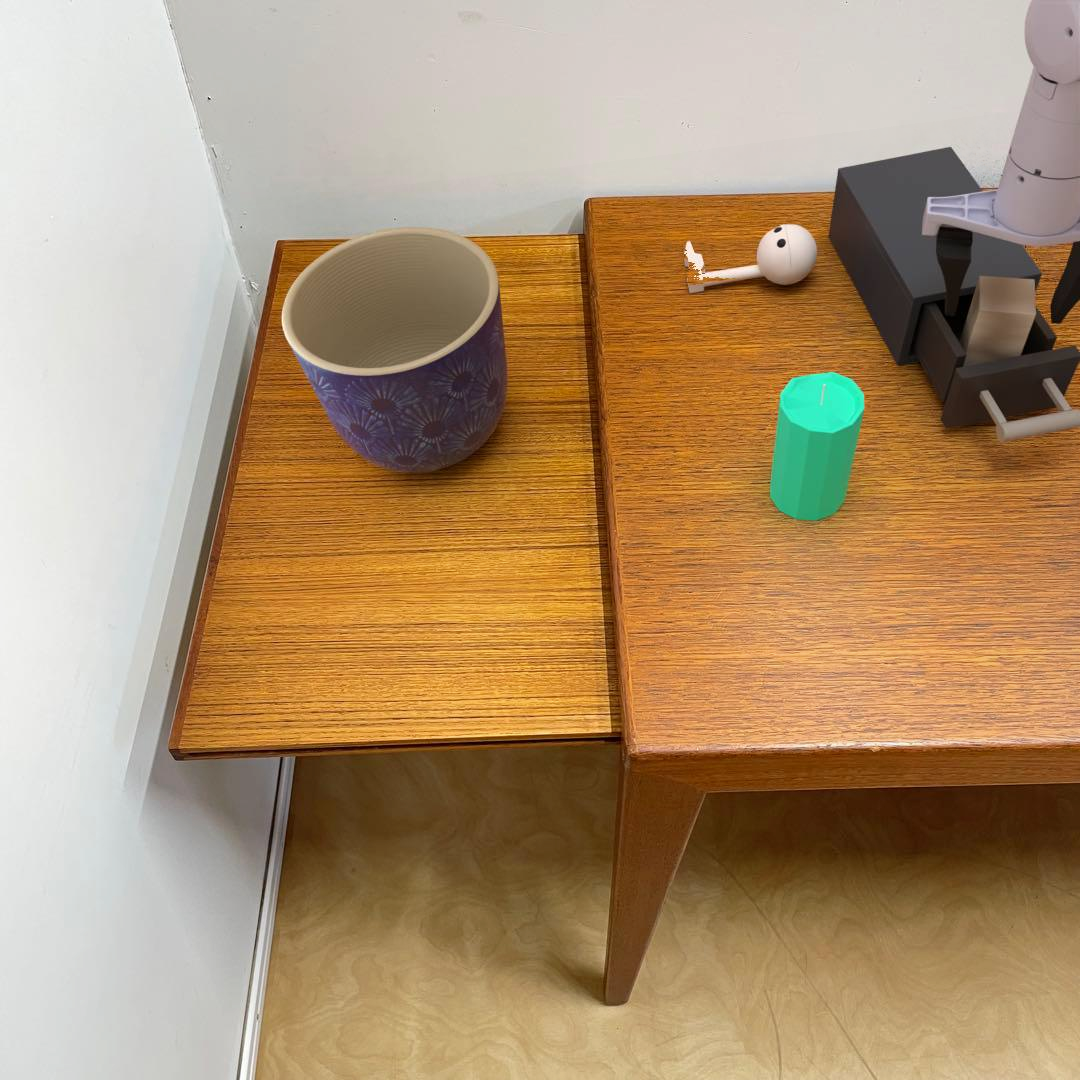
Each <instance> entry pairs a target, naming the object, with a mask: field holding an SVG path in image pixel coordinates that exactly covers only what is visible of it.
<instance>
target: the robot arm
mask: <svg viewBox="0 0 1080 1080" xmlns="http://www.w3.org/2000/svg"><path fill="white" fill-rule="evenodd" d="M1024 43H1025V44H1024V45H1025V49H1026V52H1027V55H1028V57H1029V60H1030V63H1031V64H1032V66H1033V68H1032V70H1031V75H1030V77H1029V81H1028V84H1027V87H1026V90H1025V94H1024V98H1023V101H1022V105H1021V108H1020V111H1019V114H1018V118H1017V121H1016V125H1015V129H1014V131H1013V135H1012V137H1011V142H1010V145H1009V149H1008V153H1007V156H1006V159H1005V162H1004V166H1003V170H1002V174H1001V177H1000V180H999V183H998V187H997V188H996V189H995V188H994V189H989V190H983V191H982V192H976V193H970V194H963V195H957V196H949V197H928V198H927V203H926V207H925V211H924V216H923V223H922V235H929V236H935V235H936V255H937V260H938V263H939V265H940V268H941V270H942V274H943V277H944V281H945V286H946V297H945V315H949V316H954V315H955V313H956V310H957V306H958V300H959V295H960V290H961V286H962V283H963V280H964V277H965V275H966V272H967V270H968V267H969V265H970V263H971V246H972V243H973V232H975V233H980V234H984V235H987V236H991V237H995V238H999V239H1002V240H1006V241H1010V242H1013V243H1017V244H1021V245H1022V246H1028V247H1037V248H1038V247H1050V246H1058V245H1063V244H1070V243H1072V246H1071V248H1070V252H1069V255H1068V259H1067V262H1066V265H1065V266H1064V267H1065V268H1064V270H1063V272H1062V275H1061V277H1060V278H1059V281H1058V283H1057V286H1056V288H1055V290H1054V293H1053V295H1052V298H1051V302H1050V305H1049V307H1050V324H1054V325H1055V324H1057V325H1060V324H1062V322H1063V321H1064V319H1066V317H1067V316H1068V314H1069V313H1070V312H1071V311H1072V309H1073V308H1074V307H1075V306H1076V304H1077V303H1078V302H1079V301H1080V0H1031V1H1030V3H1029V5H1028V8H1027V11H1026V15H1025V21H1024Z"/></svg>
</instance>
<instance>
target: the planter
mask: <svg viewBox="0 0 1080 1080" xmlns="http://www.w3.org/2000/svg"><path fill="white" fill-rule="evenodd" d="M497 271H498V270H497V269H496V266H495V264H494V263H493V260H492V259H491V258H490V256H489V255H488V253H487V252H485V250H484V249H482V248H481V247H480V246H479V245H477V244H476V242H474V241H473V240H470V239H469V238H466V237H465V236H462V235H461V234H459V233H455V232H452V231H450V230H444V229H440V228H434V227H427V226H426V227H425V226H402V227H393V228H385V229H380V230H377V231H373V232H372V231H371V232H368V233H365V234H363V235H362V234H361V235H359V236H357V237H353V238H351V239H349V240H346V241H344V242H342V243H340V244H338V245H336V246H334V247H333V248H331V249H329V250H327V251H326V252H324V253H323V254H321V255H320V256H319V257H317V258H316V259H315V260H313V261H312V262H311V263H310V264H309V265H308V266H306V267H305V268H304V269H303V271H302V272H301V273H300V274H299V275H298V277H296V279H295V280H294V281H293V283H292V285H291V287H289V290H288V292H287V294H286V296H285V298H284V303H283V305H282V311H281V325H282V331H283V333H284V337H285V339H286V341H287V343H288V345H289V346H290V348H291V350H292V352H293V354H294V356H295V358H296V359H297V361H298V363H299V365H300V368H301V369H302V371H303V373H304V374H305V376H306V378H307V381H308V382H309V384H310V386H311V388H312V390H313V391H314V393H315V395H316V397H317V399H318V401H319V402H320V405H321V406H322V408H323V410H324V412H325V414H326V416H327V418H328V419H329V420H330V423H331V425H332V426H333V428H334V430H335V431H336V433H337V434H338V436H339V437H340V438H341V440H343V441H344V442H345V444H346V445H348V446H349V448H351V450H353V451H354V452H355V453H356V454H357V455H358V456H360V457H362V459H364V460H366V461H368V463H371V464H373V465H374V466H377V467H378V468H379V467H380V468H382V469H385V470H389V471H393V472H399V473H406V474H407V473H409V474H414V473H415V474H422V473H429V472H430V473H431V472H434V471H435V472H436V471H439V470H443V469H445V468H449V467H451V466H454V465H456V464H458V463H460V462H462V461H463V460H466V458H468V457H470V456H471V455H472V454H474V453H475V452H476V451H478V450H479V449H480V448H481V447H482V446H483V445H484V444H485V443H487V441H488V440H489V438H490V437H491V436H492V434H493V433H494V431H495V430H496V428H497V426H498V424H499V422H500V420H501V417H502V416H503V412H504V409H505V405H506V402H507V397H508V385H509V377H508V376H509V375H508V373H509V372H508V361H507V350H506V341H505V331H504V321H503V310H502V300H501V299H502V298H501V288H500V279H499V275H498V272H497Z"/></svg>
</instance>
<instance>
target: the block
mask: <svg viewBox="0 0 1080 1080" xmlns="http://www.w3.org/2000/svg"><path fill="white" fill-rule="evenodd" d="M1036 307H1037V305H1036V292H1035V280H1034V279H1020V278H1005V277H990V276H980V277H979V279H978V283H977V286H976V289H975V293H974V296H973V299H972V303H971V306H970V309H969V312H968V316H967V319H966V322H965V326H964V329H963V332H962V336H961V339H960V342H959V343H960V344H961V346H962V348H963V349H964V351H965V353H966V355H967V356H966V359H965V362H964V365H963V367H965V366H971V365H976V364H981V363H986V362H991V361H996V360H1002V359H1007V358H1012V357H1017V356H1021V353H1022V350H1023V348H1024V345H1025V342H1026V340H1027V337H1028V334H1029V332H1030V329H1031V326H1032V324H1033V321H1034V318H1035V316H1036Z"/></svg>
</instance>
